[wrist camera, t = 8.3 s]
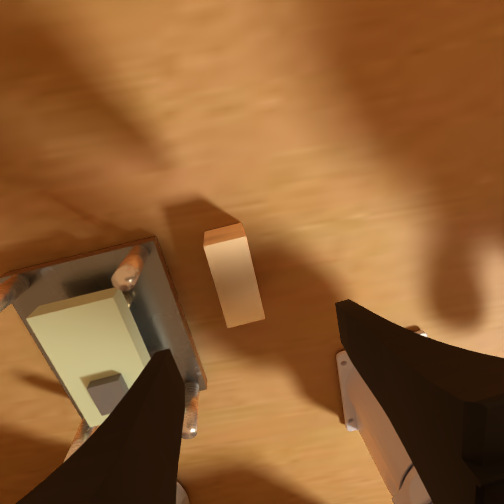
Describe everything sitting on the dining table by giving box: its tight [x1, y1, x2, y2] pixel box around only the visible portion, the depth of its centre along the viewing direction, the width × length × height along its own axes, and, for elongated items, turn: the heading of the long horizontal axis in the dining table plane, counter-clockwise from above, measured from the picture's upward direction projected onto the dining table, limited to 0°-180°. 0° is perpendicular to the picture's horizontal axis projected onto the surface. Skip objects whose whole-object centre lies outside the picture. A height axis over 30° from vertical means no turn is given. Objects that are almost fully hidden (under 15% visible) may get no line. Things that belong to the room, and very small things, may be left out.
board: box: [26, 287, 151, 427], centre depth 19 cm, size 9×5×2 cm, turn 12°
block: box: [203, 223, 265, 328], centre depth 21 cm, size 6×3×3 cm, turn 12°
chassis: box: [0, 236, 207, 463], centre depth 20 cm, size 13×10×5 cm
